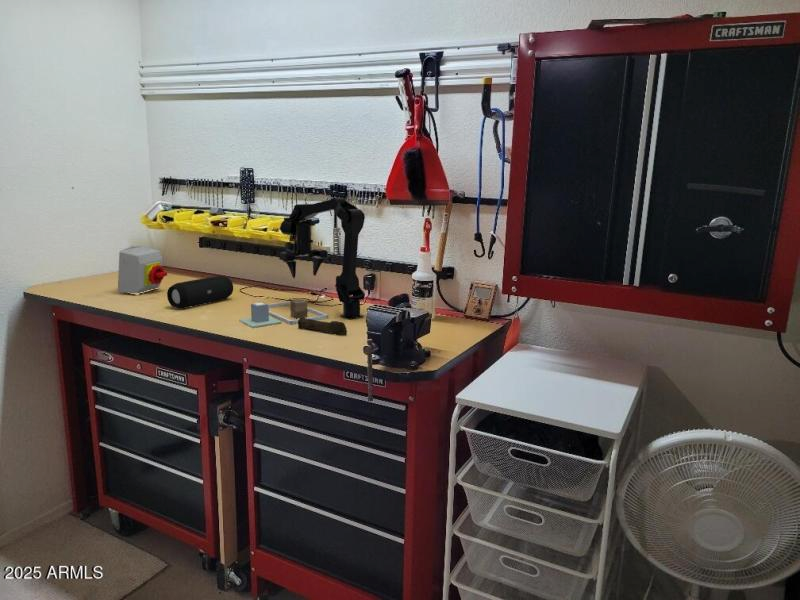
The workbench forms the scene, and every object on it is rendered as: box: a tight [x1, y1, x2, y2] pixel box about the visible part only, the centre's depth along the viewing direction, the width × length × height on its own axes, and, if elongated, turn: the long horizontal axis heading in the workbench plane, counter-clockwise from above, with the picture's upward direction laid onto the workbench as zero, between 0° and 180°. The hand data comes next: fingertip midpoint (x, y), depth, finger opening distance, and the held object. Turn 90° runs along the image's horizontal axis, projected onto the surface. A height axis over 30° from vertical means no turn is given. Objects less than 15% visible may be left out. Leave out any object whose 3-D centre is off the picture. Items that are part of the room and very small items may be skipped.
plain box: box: [289, 298, 308, 320], centre depth 217 cm, size 4×4×6 cm
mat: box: [238, 315, 283, 328], centre depth 209 cm, size 11×11×1 cm
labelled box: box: [250, 301, 270, 323], centre depth 208 cm, size 4×4×6 cm
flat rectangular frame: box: [267, 300, 329, 325], centre depth 222 cm, size 28×16×1 cm, turn 39°
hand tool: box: [297, 317, 348, 336], centre depth 198 cm, size 19×4×5 cm, turn 59°
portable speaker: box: [166, 275, 234, 309], centre depth 234 cm, size 26×10×10 cm, turn 147°
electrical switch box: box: [117, 245, 168, 293], centre depth 251 cm, size 15×15×20 cm
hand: (304, 276), depth 230 cm, fingers open, 9 cm apart
